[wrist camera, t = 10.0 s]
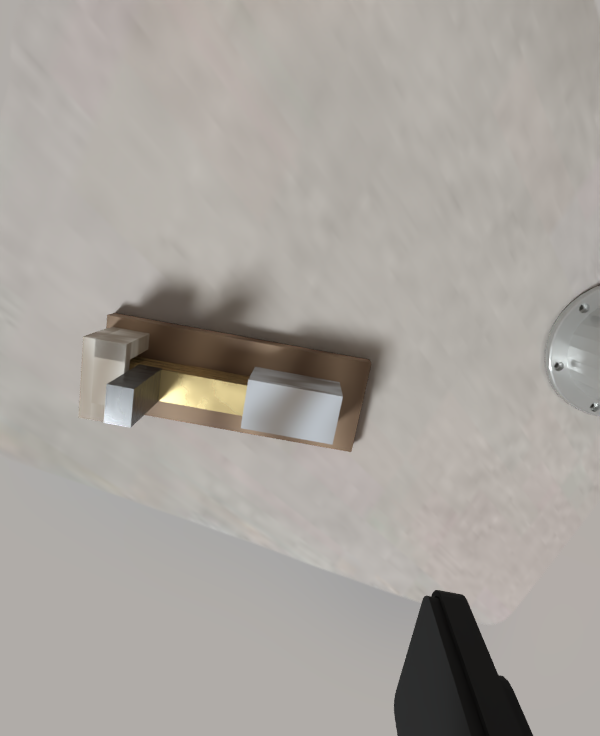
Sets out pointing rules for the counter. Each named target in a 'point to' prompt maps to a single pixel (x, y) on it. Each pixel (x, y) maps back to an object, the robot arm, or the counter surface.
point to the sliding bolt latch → (243, 357)
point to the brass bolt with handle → (171, 390)
